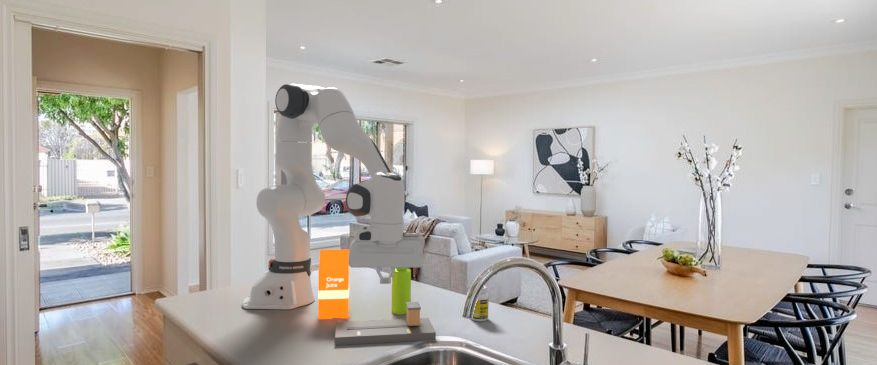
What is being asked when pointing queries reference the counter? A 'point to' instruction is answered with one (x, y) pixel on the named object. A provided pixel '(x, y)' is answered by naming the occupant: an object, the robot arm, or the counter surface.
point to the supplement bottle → (481, 306)
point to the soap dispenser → (401, 290)
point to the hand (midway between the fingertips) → (385, 283)
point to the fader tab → (413, 313)
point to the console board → (382, 331)
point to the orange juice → (333, 284)
